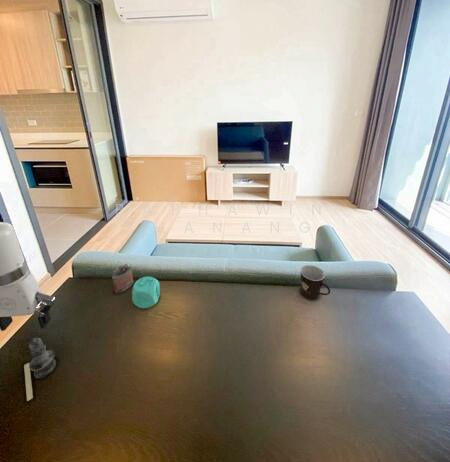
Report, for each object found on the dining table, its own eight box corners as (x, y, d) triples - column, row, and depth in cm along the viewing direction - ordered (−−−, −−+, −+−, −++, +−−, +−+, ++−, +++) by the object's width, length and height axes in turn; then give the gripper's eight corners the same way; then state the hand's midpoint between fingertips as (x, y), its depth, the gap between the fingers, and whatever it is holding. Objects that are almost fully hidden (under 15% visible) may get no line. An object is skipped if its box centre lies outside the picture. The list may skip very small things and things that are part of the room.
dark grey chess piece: (54, 354, 74) (43, 325, 70) (59, 368, 70) (48, 338, 66) (31, 368, 70) (18, 338, 66) (34, 384, 67) (21, 353, 62)
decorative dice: (155, 308, 90) (152, 291, 87) (133, 308, 90) (130, 291, 87) (160, 292, 97) (158, 276, 94) (140, 292, 97) (138, 276, 95)
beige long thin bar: (24, 365, 71) (24, 365, 71) (29, 362, 72) (29, 362, 72) (27, 401, 63) (27, 401, 63) (32, 397, 63) (32, 397, 63)
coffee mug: (294, 286, 99) (297, 266, 96) (315, 284, 100) (318, 264, 97) (307, 309, 88) (310, 287, 85) (329, 307, 89) (333, 285, 86)
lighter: (130, 279, 104) (127, 260, 101) (135, 282, 102) (132, 263, 99) (113, 291, 98) (108, 271, 95) (118, 294, 96) (113, 274, 93)
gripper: (-47, 285, 54) (-21, 340, 60) (35, 281, 56) (53, 335, 62) (-19, 264, 61) (3, 315, 67) (53, 261, 63) (68, 311, 69)
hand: (26, 324), depth 65 cm, fingers open, 9 cm apart
